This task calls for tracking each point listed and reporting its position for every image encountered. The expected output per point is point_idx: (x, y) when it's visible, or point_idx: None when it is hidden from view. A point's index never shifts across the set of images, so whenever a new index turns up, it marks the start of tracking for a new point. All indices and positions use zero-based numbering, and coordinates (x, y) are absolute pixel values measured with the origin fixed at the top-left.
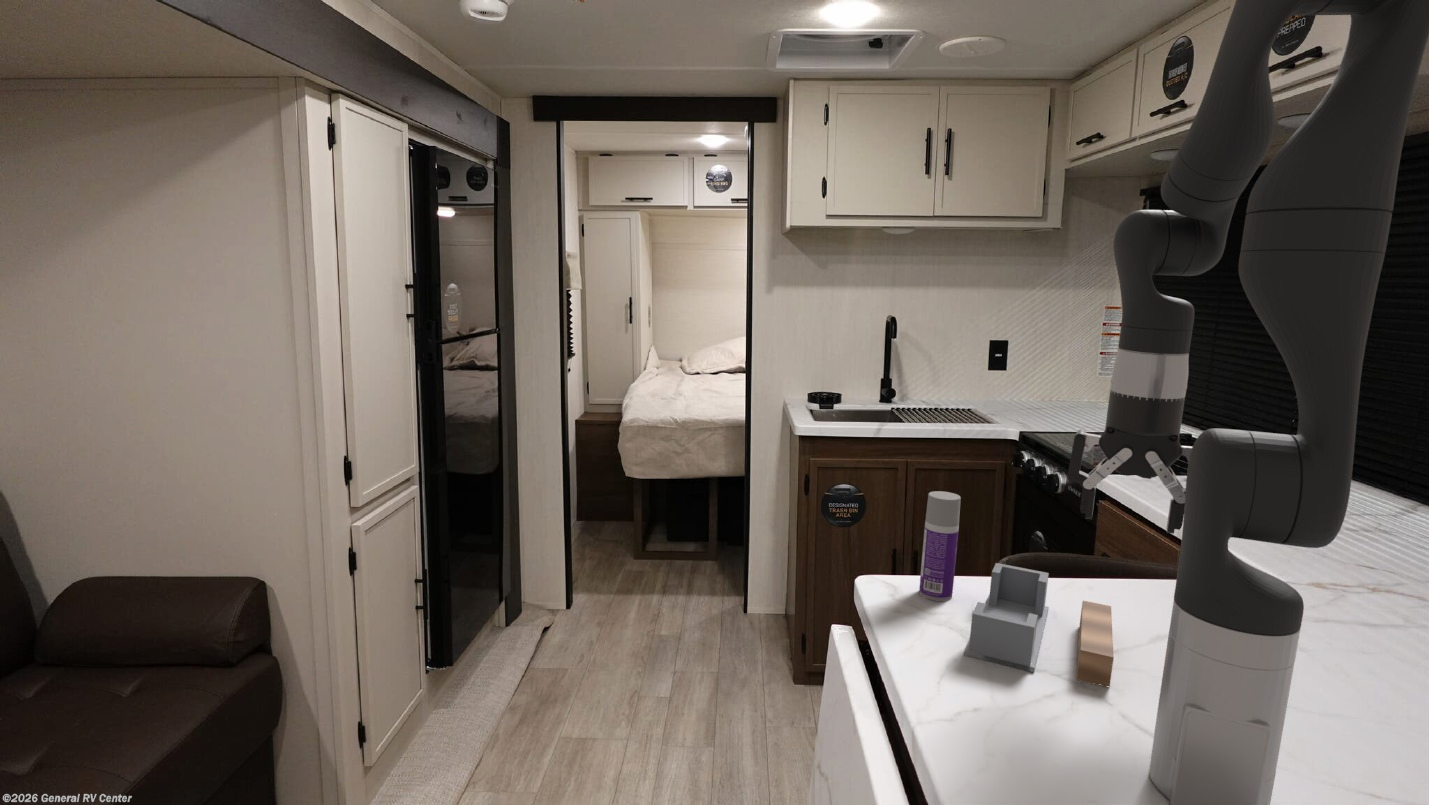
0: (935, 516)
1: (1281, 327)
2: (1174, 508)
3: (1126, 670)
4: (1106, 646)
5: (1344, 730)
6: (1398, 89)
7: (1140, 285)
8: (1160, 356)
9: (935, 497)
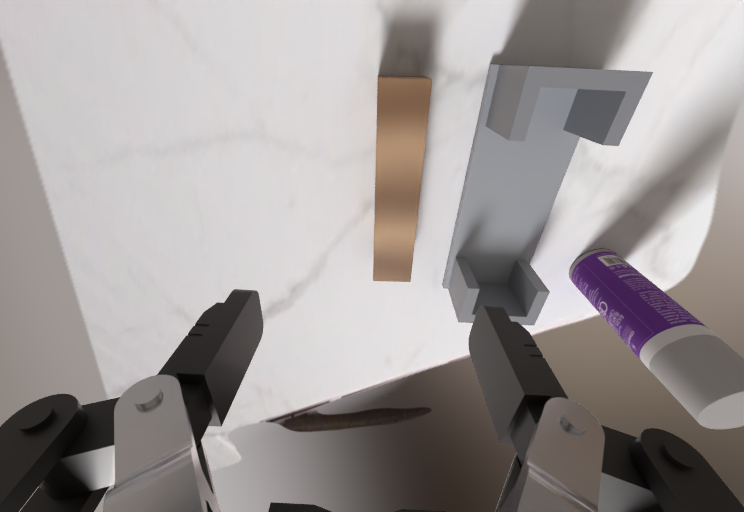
0: (732, 351)
1: None
2: (201, 355)
3: (353, 154)
4: (387, 123)
5: (96, 116)
6: None
7: None
8: None
9: None
